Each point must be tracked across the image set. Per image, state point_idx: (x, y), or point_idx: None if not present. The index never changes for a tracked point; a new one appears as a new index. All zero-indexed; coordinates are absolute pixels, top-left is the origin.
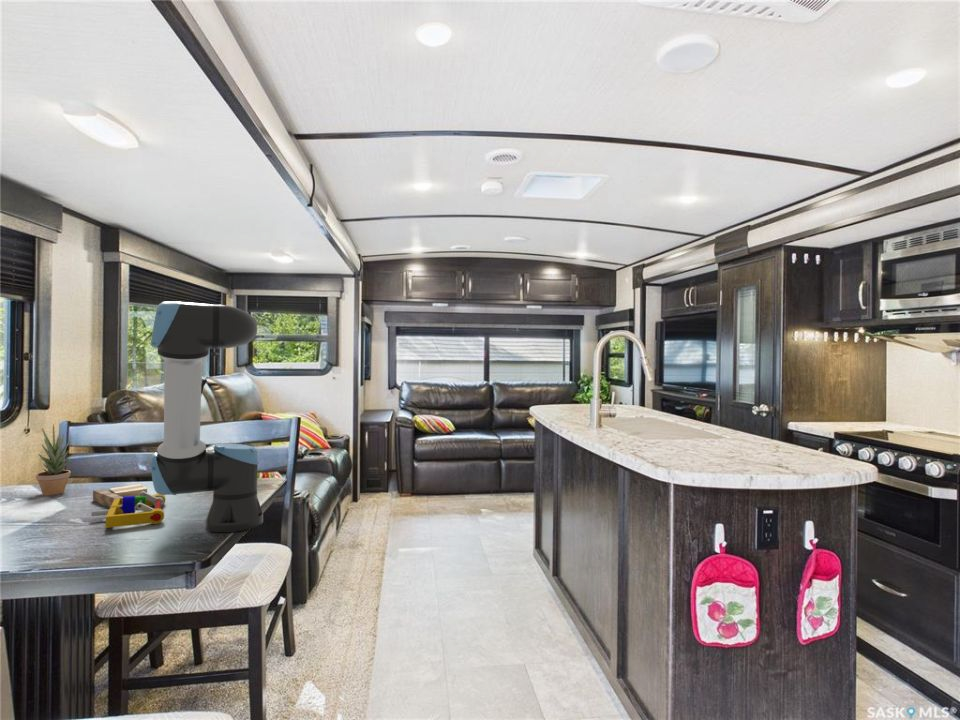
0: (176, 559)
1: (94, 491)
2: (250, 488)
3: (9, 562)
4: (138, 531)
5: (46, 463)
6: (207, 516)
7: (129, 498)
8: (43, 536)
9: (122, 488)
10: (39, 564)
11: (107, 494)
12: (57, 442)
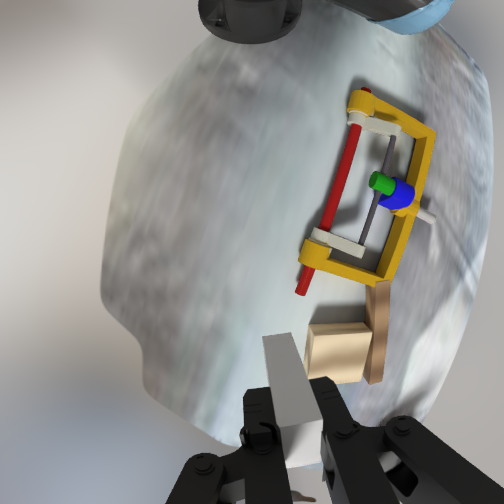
0: None
1: (382, 375)
2: None
3: (490, 106)
4: (387, 90)
5: None
6: (299, 8)
7: (405, 183)
8: (472, 183)
9: (346, 367)
10: (471, 72)
11: (384, 332)
12: (398, 500)
